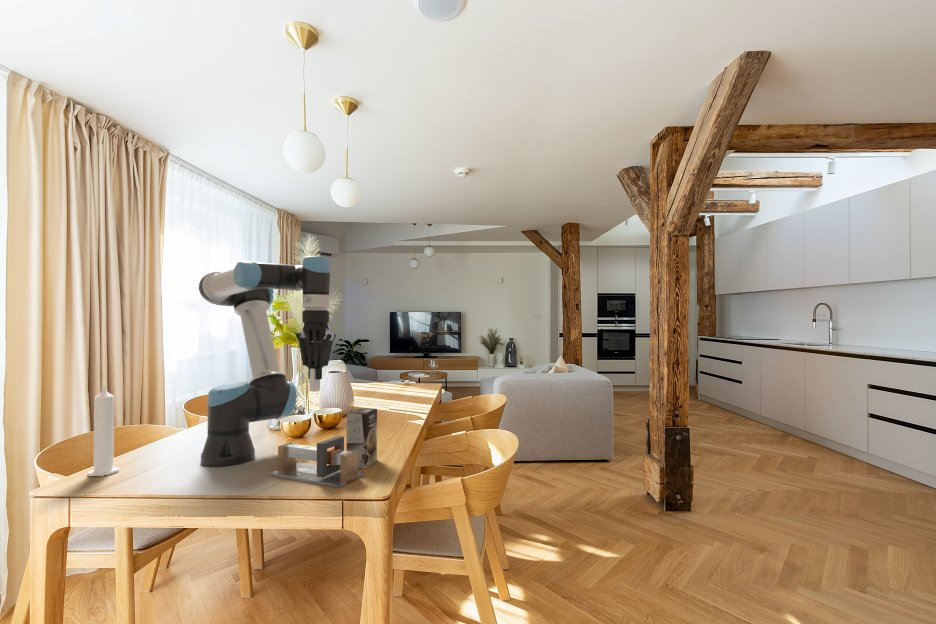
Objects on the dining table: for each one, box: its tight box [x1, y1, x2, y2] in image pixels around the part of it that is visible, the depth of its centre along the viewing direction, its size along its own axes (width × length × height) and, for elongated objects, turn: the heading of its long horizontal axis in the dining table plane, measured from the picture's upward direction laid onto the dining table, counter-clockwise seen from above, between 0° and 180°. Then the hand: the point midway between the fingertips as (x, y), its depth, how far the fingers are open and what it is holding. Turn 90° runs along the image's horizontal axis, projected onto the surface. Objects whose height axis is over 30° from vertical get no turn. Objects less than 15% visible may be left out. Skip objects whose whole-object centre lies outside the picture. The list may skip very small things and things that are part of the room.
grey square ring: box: [316, 435, 345, 478], centre depth 135 cm, size 2×9×9 cm, turn 156°
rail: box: [269, 441, 365, 489], centre depth 137 cm, size 24×11×8 cm, turn 66°
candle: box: [87, 384, 120, 477], centre depth 139 cm, size 7×7×25 cm
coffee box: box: [345, 407, 378, 469], centre depth 148 cm, size 9×6×16 cm
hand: (315, 390), depth 142 cm, fingers closed
